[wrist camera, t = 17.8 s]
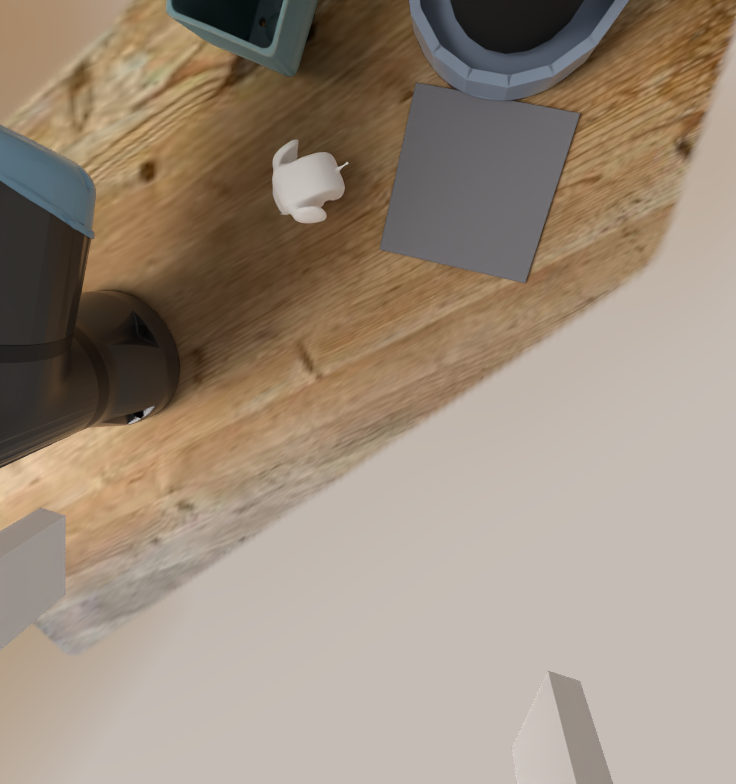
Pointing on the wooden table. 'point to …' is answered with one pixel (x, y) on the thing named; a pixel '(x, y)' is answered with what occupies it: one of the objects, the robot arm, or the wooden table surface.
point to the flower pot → (251, 28)
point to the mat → (476, 181)
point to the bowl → (514, 70)
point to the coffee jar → (513, 22)
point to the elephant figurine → (305, 183)
